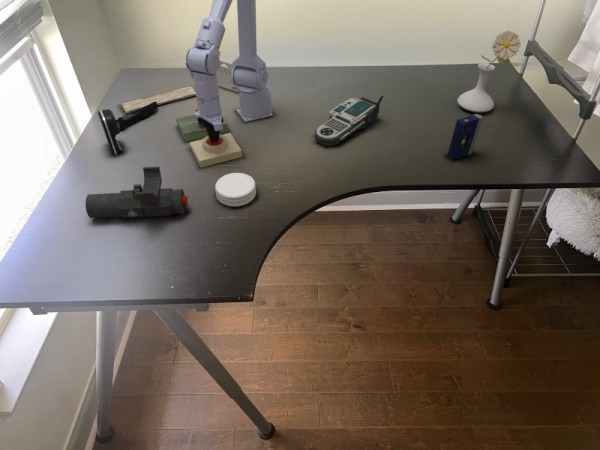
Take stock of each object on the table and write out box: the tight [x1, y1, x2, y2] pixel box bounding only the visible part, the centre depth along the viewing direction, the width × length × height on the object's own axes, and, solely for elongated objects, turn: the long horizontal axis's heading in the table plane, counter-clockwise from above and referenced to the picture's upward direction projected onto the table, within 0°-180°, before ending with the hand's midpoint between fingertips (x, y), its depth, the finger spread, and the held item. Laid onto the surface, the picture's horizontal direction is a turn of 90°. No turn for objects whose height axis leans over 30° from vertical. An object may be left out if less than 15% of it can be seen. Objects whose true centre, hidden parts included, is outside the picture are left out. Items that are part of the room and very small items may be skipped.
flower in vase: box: [456, 29, 522, 113], centre depth 137 cm, size 13×11×25 cm
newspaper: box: [120, 86, 196, 115], centre depth 147 cm, size 24×7×2 cm, turn 121°
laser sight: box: [84, 166, 189, 219], centre depth 104 cm, size 10×22×10 cm, turn 95°
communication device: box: [314, 95, 384, 147], centre depth 133 cm, size 12×24×9 cm, turn 137°
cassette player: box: [446, 113, 484, 161], centre depth 122 cm, size 7×2×12 cm, turn 118°
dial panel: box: [175, 114, 229, 143], centre depth 134 cm, size 13×9×3 cm
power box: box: [189, 132, 243, 168], centre depth 125 cm, size 12×10×4 cm
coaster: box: [214, 172, 257, 208], centre depth 112 cm, size 10×10×4 cm
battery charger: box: [97, 108, 124, 156], centre depth 124 cm, size 7×4×11 cm, turn 28°
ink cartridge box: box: [216, 60, 239, 93], centre depth 151 cm, size 2×11×10 cm, turn 57°
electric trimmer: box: [116, 102, 159, 131], centre depth 138 cm, size 4×16×3 cm, turn 142°
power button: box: [207, 137, 222, 146], centre depth 124 cm, size 4×4×2 cm
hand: (214, 140), depth 123 cm, fingers closed, pressing on power button
